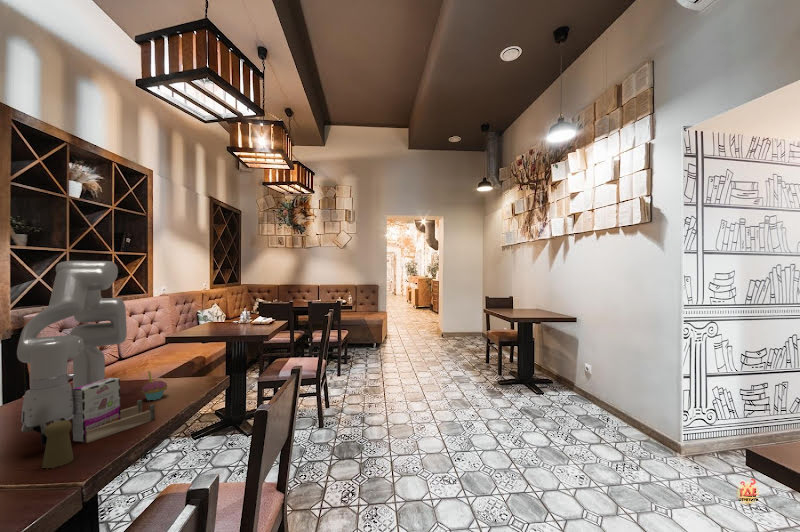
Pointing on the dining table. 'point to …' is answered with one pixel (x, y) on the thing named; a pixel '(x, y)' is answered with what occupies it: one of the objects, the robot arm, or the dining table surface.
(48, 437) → the cork
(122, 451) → the dining table surface
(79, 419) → the candy bar box
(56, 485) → the dining table surface
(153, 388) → the cupcake
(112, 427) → the chute
